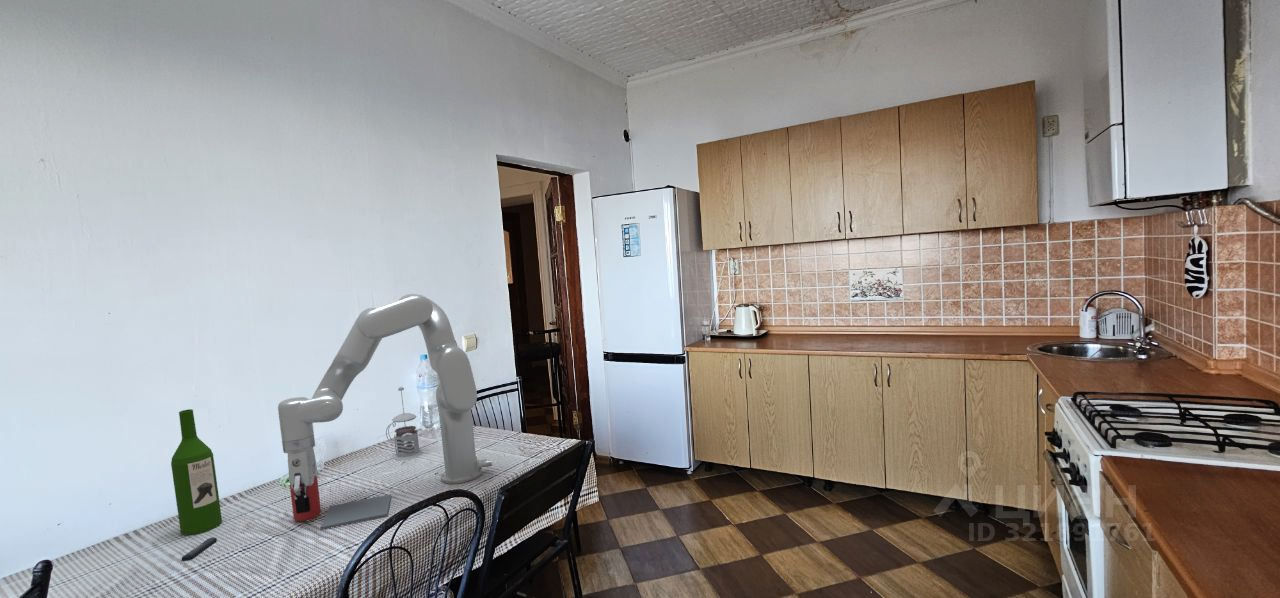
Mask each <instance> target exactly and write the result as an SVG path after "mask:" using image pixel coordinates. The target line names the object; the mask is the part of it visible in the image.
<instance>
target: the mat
mask: <svg viewBox="0 0 1280 598" xmlns="http://www.w3.org/2000/svg"><path fill="white" fill-rule="evenodd" d="M391 501H392V494H385V495H380V496H375V497H370V498H365V499H359V500H355V501H350V502H345V503H339V504H334V505H330V506H329V507H328V509H327V512H326V514H325V516H324V518H323V520H322V523H321V525H320V531H323V529H324V530H328V529H327V528H329V529H332V528H331V527H334V528H337V527H336V526H339V527H342V526H341V525H344V526H348V525H353V524H357V523H362V522H366V521H367V522H368V521H372V520H377V519H381V518H387V517H388V515H389V513H390V512H389V511H390V505H391ZM347 524H348V525H347Z"/></svg>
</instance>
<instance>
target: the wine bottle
mask: <svg viewBox="0 0 1280 598" xmlns="http://www.w3.org/2000/svg"><path fill="white" fill-rule="evenodd" d="M178 416H179V422H180V423H179V425H180V434H181V441H180V443H179V444H178V446H177V448H176V450H175V452H174V454H173V455H172V457H171V461H170V462H171V463H170V465H171V472H172V473H171V474H172V479H173V487H174V495H175V499H176V500H175V501H176V508H177V516H178V523H179V531H180V533H181V534H182V535H184V536H193V535H199V534H203V533H205V532H209V531H211V530H213V529H216V528H217V527H219V526H220V525H221V524H222V522H223V519H222V512H221V511H222V510H221V503H220V495H219V489H218V482H217V481H218V480H217V474H216V466H215V458H214V453H213V451H212V449H211V448H210V446H208V445H207V444H205V443H204V442H203V441H202V440H201V439H200V438H199V437H198V435H197V428H196V422H195V416H194V409H190V408H188V409H183V410H180V411H179V412H178Z"/></svg>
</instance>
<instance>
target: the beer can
mask: <svg viewBox="0 0 1280 598" xmlns="http://www.w3.org/2000/svg"><path fill="white" fill-rule="evenodd" d="M294 484H295V482H294ZM301 486H305V484H301ZM289 490H290V491H289V492H290V497H291V500H290V501H291V506H292V507H291V509H292V514H293V520H294V521H295V522H297V521H298V523H301V522H302V523H304V522H308V520H309V521H311V519H312V520H313V519H316V518H317V516H318V517H319V516H320V515H321V513H322V506H321V499H320V498H321V497H320V489H319V483H318V476H317V477H316V476H314V483H313V484H312V485H311V486H307V497H308V496H309V502H310V511H309V512H304V513H299V514H297V513H296V505H295V494H294V489H292V488H291V485H290V484H289ZM301 490H303V491H304V489H301ZM303 521H304V522H303Z"/></svg>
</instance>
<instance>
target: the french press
mask: <svg viewBox="0 0 1280 598" xmlns="http://www.w3.org/2000/svg"><path fill="white" fill-rule="evenodd" d="M404 390H405V388H404V386H400V387H398V390H397V391H398V392H399V391H400V394H401V396H403V393H402V392H403V391H404ZM401 403H402V405H404V400H403V398H401ZM402 411H403V412H402V413H399V414H397V415H395V416H394V417H393V418H392V419H391V421H392V422H391V423H389V424H388V425H387V427H386V430H385V436H386V439H387V440H388V441H389V442H390V443H391V444H394V446H395V448H394V449H395V456H393V460H394V461H407V460H412V459H416V458H419V457H420V456H422V455H423V454H424V453H423V451H421V450H420V444H419V435H418V434H419V433H418V430H417V426H416V425H409V426H407V425H404V426H402V427H401V426H400V427H398V428H396V429H395V430H394V433H395V434H394V435H393V436H394V439H393V438H391V435H390V427H391V426H392V427H393V428H394V427H396V423H404V424H406V422H409V421H413V420H415V419H416V418H417V415H416V414H414V413H411V412H410V413H409V412H405V408H404V407H402ZM388 437H389V438H390V439H389V438H388ZM391 440H392V441H391Z"/></svg>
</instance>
